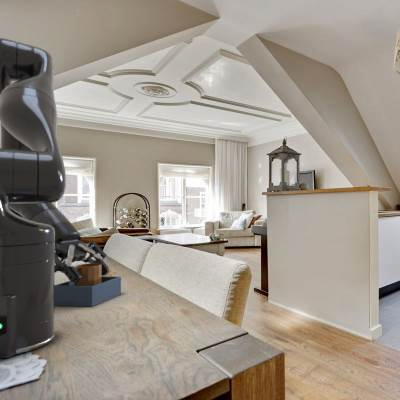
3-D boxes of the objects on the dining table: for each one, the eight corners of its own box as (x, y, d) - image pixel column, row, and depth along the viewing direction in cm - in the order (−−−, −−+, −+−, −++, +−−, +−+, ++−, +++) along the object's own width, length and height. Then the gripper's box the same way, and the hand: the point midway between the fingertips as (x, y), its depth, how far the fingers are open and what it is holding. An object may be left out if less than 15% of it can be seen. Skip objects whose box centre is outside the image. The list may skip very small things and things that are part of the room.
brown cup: (90, 300, 75) (90, 267, 76) (68, 300, 76) (68, 267, 76) (106, 294, 81) (106, 263, 81) (86, 293, 82) (86, 262, 82)
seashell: (123, 269, 104) (108, 264, 97) (119, 286, 102) (103, 282, 94) (100, 269, 105) (83, 263, 97) (95, 286, 102) (77, 282, 95)
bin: (92, 306, 73) (92, 286, 73) (51, 305, 74) (52, 285, 74) (120, 294, 83) (121, 276, 83) (85, 293, 84) (85, 276, 84)
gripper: (36, 221, 73) (77, 272, 71) (87, 219, 87) (123, 261, 85) (17, 244, 74) (57, 294, 72) (71, 237, 88) (106, 280, 86)
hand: (93, 276), depth 78 cm, fingers open, 8 cm apart
